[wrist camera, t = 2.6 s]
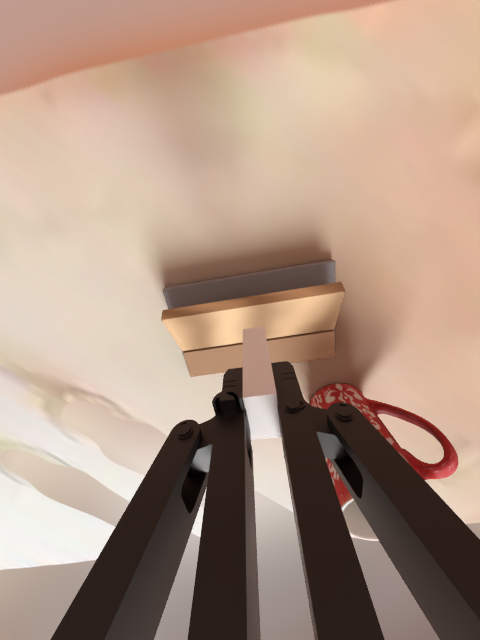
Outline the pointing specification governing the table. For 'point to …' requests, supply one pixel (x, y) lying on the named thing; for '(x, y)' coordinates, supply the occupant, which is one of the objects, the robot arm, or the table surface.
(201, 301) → the floor panel
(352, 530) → the mug
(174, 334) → the plank
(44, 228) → the table surface
